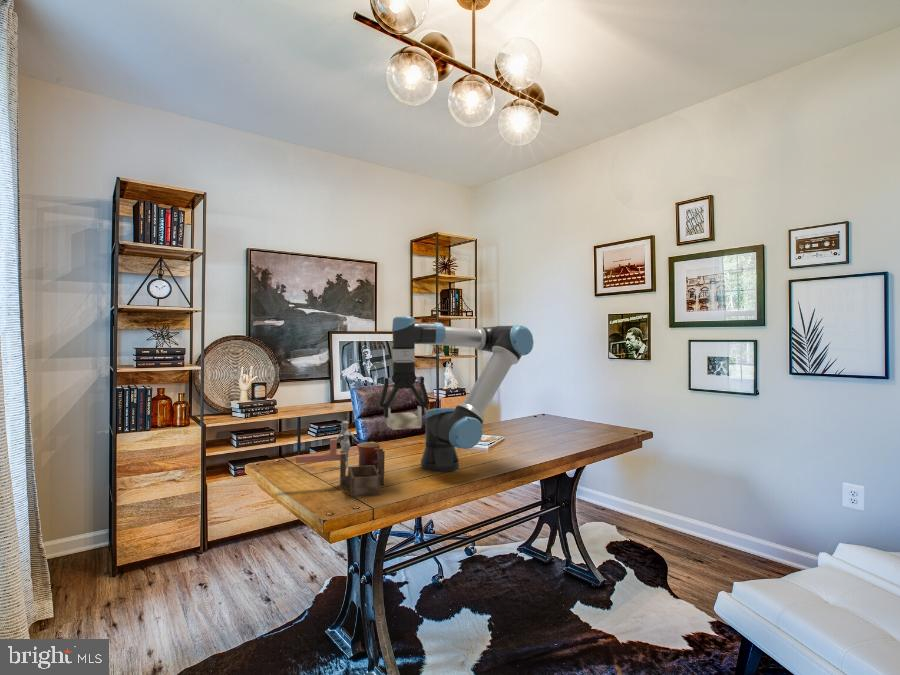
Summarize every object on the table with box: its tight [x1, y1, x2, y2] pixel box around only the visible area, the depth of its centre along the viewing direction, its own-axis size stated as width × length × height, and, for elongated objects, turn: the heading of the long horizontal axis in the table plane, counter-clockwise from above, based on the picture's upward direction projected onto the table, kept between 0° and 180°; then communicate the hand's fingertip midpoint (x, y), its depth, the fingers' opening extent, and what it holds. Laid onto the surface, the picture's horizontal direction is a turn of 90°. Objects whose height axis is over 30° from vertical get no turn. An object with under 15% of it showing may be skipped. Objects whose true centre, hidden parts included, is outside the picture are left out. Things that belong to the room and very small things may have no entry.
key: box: [295, 438, 346, 464], centre depth 156 cm, size 16×2×7 cm, turn 107°
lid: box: [384, 411, 422, 431], centre depth 164 cm, size 10×15×3 cm, turn 17°
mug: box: [356, 441, 381, 471], centre depth 175 cm, size 12×9×10 cm
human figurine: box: [335, 420, 359, 469], centre depth 182 cm, size 12×4×18 cm, turn 133°
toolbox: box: [339, 448, 386, 498], centre depth 156 cm, size 14×14×12 cm
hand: (404, 426), depth 160 cm, fingers closed on lid, 10 cm apart
